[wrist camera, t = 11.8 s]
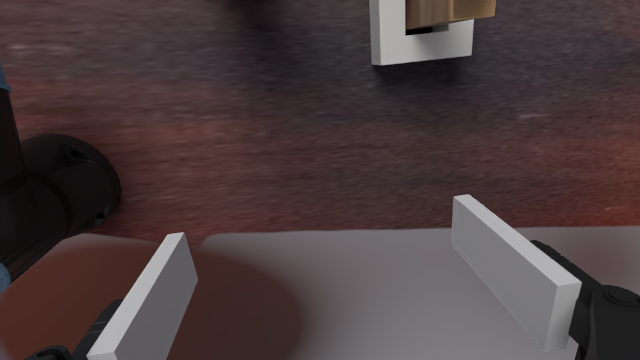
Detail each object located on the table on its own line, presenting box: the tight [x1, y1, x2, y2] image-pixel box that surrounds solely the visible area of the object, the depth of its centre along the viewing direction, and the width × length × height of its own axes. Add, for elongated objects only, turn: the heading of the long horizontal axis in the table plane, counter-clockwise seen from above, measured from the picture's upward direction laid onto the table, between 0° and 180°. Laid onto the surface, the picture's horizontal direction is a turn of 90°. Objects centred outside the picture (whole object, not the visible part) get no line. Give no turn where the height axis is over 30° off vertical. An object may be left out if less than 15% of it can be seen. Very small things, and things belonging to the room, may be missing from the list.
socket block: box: [369, 0, 474, 65], centre depth 42 cm, size 12×12×5 cm
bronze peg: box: [405, 0, 496, 30], centre depth 37 cm, size 4×4×16 cm
